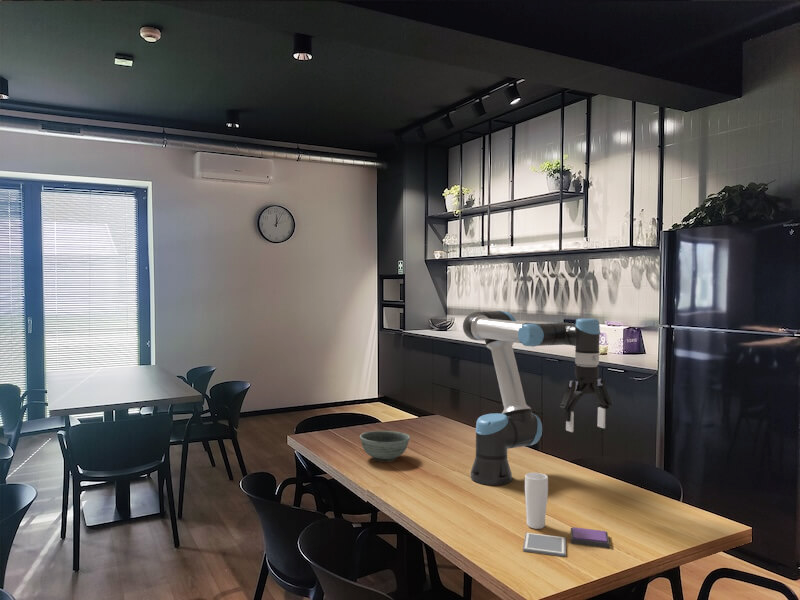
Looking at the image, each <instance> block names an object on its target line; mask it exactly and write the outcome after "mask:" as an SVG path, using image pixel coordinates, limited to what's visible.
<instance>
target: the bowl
mask: <svg viewBox="0 0 800 600" xmlns="http://www.w3.org/2000/svg"><path fill="white" fill-rule="evenodd" d="M410 436H411V435H409V434H407V433H405V432H401V431H394V430H392V431H391V430H371V431H365V432H363V433H360V435H359V438H360V441H361V446H362V448H363V451H364V452H365V453H366V454H367V455H368V456H370V457H371V458H372V459H373V461H376V462H381V463H382V462H383V463H389V462H394V461H396V459H397V458H399V457H400V456H402V455H403V454H404V453H405V452H406V450H407V448H408V445H409V441H410V439H411V437H410Z"/></svg>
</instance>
